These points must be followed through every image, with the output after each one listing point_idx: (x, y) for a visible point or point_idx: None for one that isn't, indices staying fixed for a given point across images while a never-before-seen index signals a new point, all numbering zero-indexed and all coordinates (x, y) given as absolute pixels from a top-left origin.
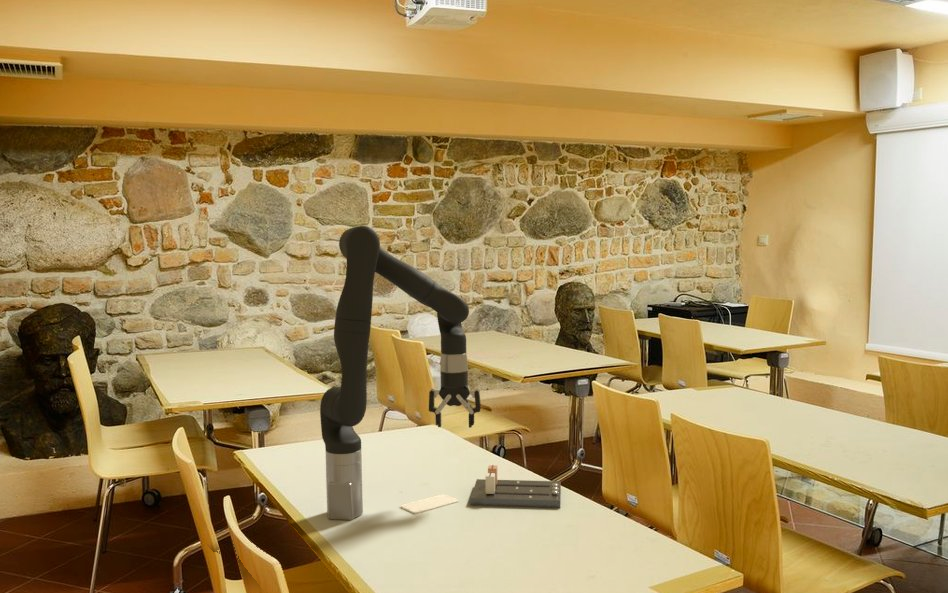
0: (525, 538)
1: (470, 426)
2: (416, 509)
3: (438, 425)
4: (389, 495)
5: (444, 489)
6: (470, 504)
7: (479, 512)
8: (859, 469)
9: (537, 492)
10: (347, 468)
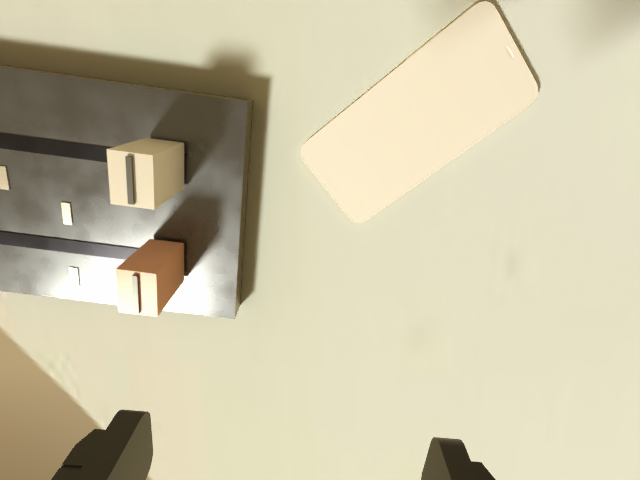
0: None
1: (124, 413)
2: (477, 40)
3: (461, 448)
4: (559, 229)
5: (354, 279)
6: (252, 101)
7: (210, 8)
8: None
9: None
10: None
